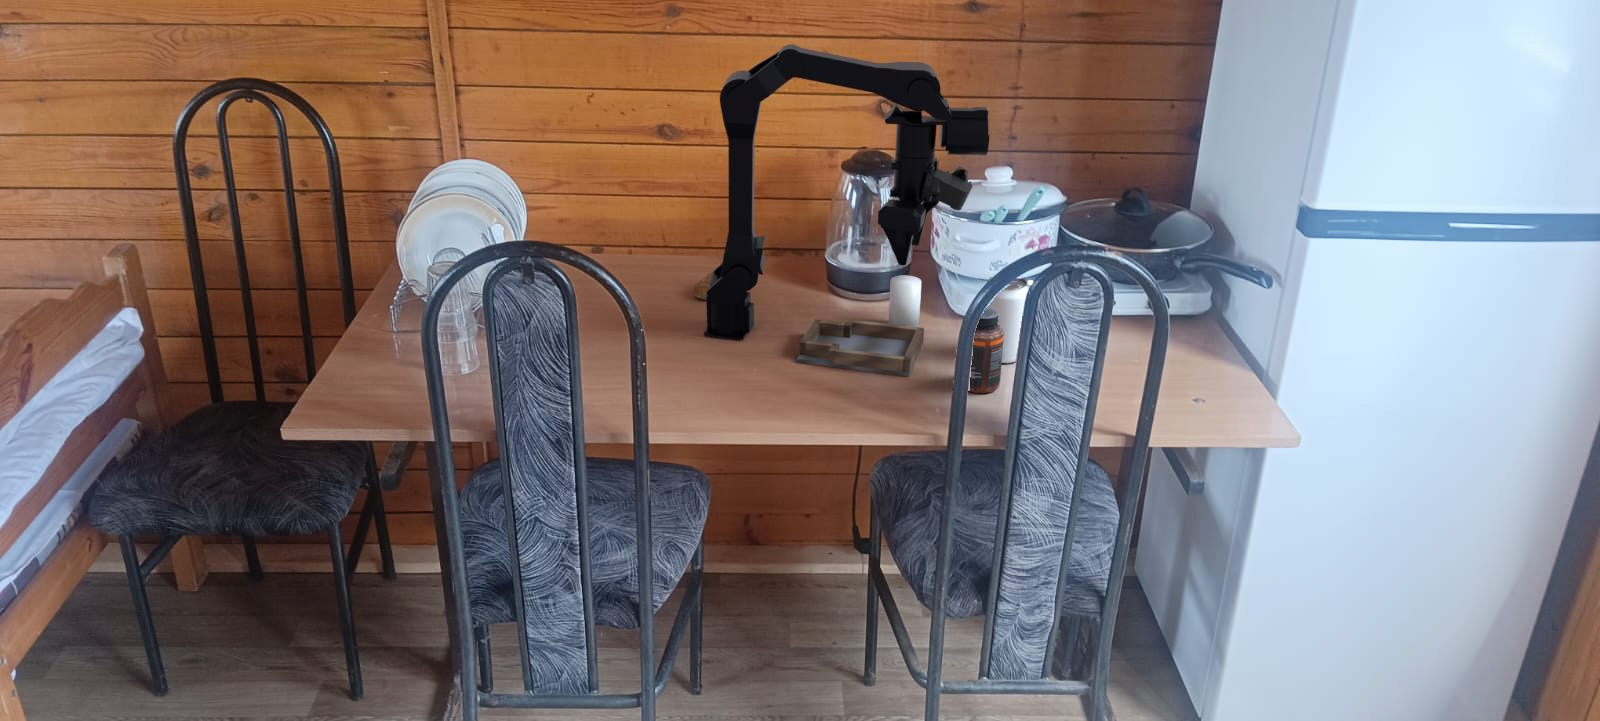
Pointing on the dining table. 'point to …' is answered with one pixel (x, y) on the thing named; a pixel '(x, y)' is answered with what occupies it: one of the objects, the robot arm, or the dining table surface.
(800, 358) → the tray
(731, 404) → the dining table surface
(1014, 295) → the can
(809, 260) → the dining table surface
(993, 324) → the supplement bottle
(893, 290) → the peg
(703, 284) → the pastry
